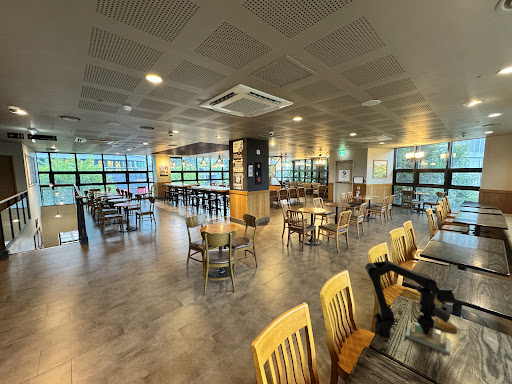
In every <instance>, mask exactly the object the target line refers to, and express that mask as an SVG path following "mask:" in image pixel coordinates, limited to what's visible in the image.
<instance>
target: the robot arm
mask: <svg viewBox="0 0 512 384" xmlns="http://www.w3.org/2000/svg"><path fill="white" fill-rule="evenodd" d="M364 268H365V271H366V272H367V275H368V277H369V279H370V280H371V284H372V287H373V290H374V294H375V297H376V301H377V304H378V305H377V306H378V307H377V309H378V310H377V311H378V312H376V314H374V316H373V317H374V319H375V323H374V327H375V328H374V331H375V333H376V332H377V333H376V334H377V335H378V336H380V337H382V338H389V339H390V338H391V336H392V327H393V325H394V324H395V323H396V322H395V321H396V318H395V315H394V312H393V309H392V308H391V306H390V305H387V304H388V303H387V300H386V297H385V294H384V291H383V286H382V282H381V281H382V280H381V279H382V278H381V277H382V276H384V275H386V274H388V273H389V272H392V273H395V274H398V275H400V276H402V277H404V278H407V279H409V280H411V281H413V282H415V283H417V285H419V286H416V287H415V288H414V289H415V291H417V293H419V299H420V300H419V307H420V308H419V312H420V313H422V314H418V315H417V317H416V318H417V319H416V320H417V321H416V322H417V323H419V324H420V326H421V328H422V330H423V332H424V333H425V335H428V333H429V329H430V328H434V327H435V326H434V324H435V319H434V318H437V319H439V318H440V319H441V320H443V321H444V322H448V321H449V319H450V318H451V313H450V311H448V306H447V307H446V306H445V305H442V306H437V303H436V301H437V302H439V303H444V304H455V303H456V297H455V294H454V293H453V289H451V288H450V287H449V288H448V287H447V288H445V287H443V288H442V287H439V286H438V284H437V282H436V280H434V278H433V277H431V276H430V275H428V274H426V273H424V272H418V271H417V272H416V271H413V270H410V269H408V268H405V267H404V266H402V265H399V264H396V263H394V262H392V261H390V260H384V261H375V262H368V263H367V264H366V265H365V266H364ZM434 329H435V328H434Z"/></svg>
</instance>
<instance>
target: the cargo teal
mask: <svg viewBox="0 0 512 384" xmlns="http://www.w3.org/2000/svg"><path fill="white" fill-rule="evenodd" d="M414 325H415V330H416V331H418V332H421V333H422V328H421V326H420V324H419V323H417V321H415V323H414Z"/></svg>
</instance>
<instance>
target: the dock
mask: <svg viewBox="0 0 512 384" xmlns="http://www.w3.org/2000/svg"><path fill="white" fill-rule="evenodd" d="M407 326H408V327H407V329H406V332H405V337H406V338H408V339H411V340H413V341H416V342H417V343H420V344H423V345H426V346H427V347H430V348H432V349H435V350H438V351H440V352H442V353H444V354H448V355H450V354H451V339H450V338H447V340H446V349H445V348H443V347H440V346H438V345H435V344H433V343H430V342H428V341H425V340H423V339H420V338H418V337H415V336H413V335H410V326H411V324H408V325H407Z"/></svg>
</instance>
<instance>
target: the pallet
mask: <svg viewBox="0 0 512 384" xmlns="http://www.w3.org/2000/svg"><path fill="white" fill-rule="evenodd" d="M410 325H411V326H410V335H413V336H415V337H418V338H420V339H423V340H425V341H428V342H430V343H433V344H435V345H438V346H440V347H443V348H445V349H446V340H447V339H448V338H447V336H448V335H447V334H446V333H444V334H442V333H441V340H438V339H436V338H433V328H430V329H429V333H428V335H425V333H424V332H423V330H422V333H421V332H418V331H416V330H415V323H414V321H413V322H412V321H411V324H410Z"/></svg>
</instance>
